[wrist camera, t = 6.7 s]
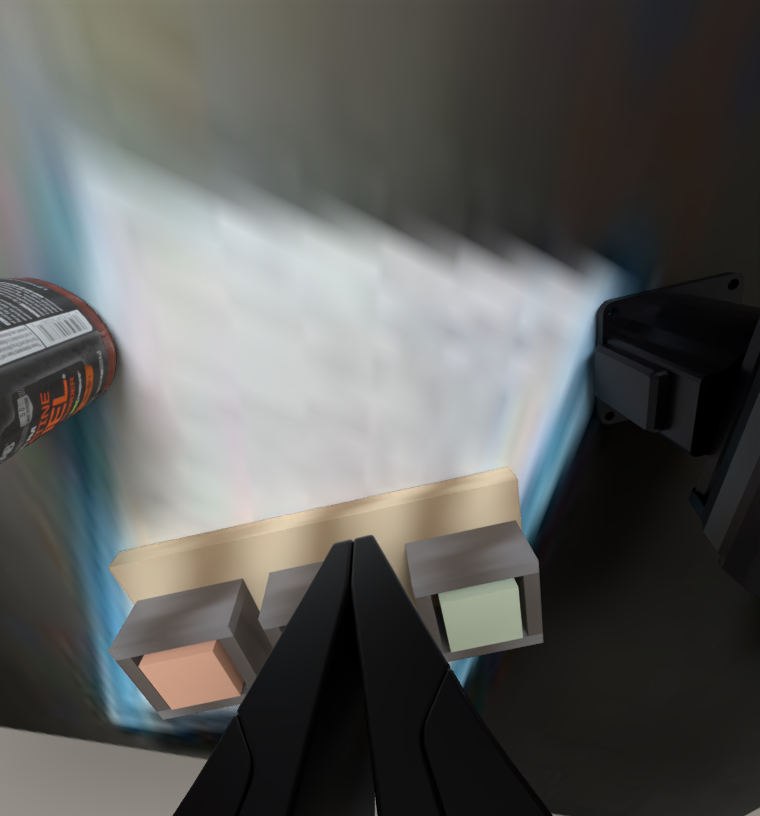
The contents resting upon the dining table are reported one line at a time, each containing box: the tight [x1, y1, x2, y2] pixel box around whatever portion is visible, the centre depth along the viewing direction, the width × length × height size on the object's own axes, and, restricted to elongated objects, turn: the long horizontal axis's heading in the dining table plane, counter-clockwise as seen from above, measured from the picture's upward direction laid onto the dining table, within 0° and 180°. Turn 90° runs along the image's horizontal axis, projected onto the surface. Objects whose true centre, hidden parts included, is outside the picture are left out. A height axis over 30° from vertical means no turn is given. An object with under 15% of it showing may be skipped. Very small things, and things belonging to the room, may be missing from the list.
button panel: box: [108, 467, 543, 720], centre depth 23 cm, size 23×12×4 cm, turn 102°
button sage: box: [438, 578, 523, 652], centre depth 22 cm, size 4×4×3 cm
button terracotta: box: [138, 639, 244, 710], centre depth 22 cm, size 4×4×3 cm
